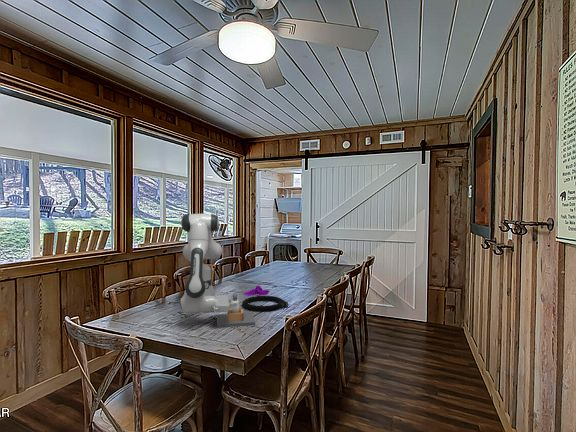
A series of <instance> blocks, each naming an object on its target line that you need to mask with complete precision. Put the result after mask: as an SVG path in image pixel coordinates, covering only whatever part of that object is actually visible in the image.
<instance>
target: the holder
mask: <svg viewBox="0 0 576 432" xmlns="http://www.w3.org/2000/svg"><path fill="white" fill-rule="evenodd" d="M255 325H256V321H255V318H254V315H253V313H252V312H245V313H244V310H243V308H239V313H232V308H229V311H228V312H226V314H216V328H229V327H230V328H231V327H244V326H255Z"/></svg>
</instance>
